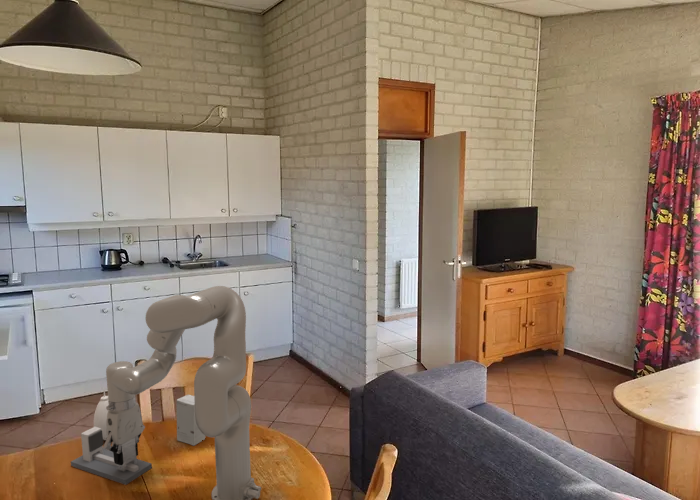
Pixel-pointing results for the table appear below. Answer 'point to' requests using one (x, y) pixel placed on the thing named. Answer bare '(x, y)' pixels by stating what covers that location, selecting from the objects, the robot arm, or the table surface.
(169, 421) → the table surface
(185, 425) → the skincare box
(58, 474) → the table surface
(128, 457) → the left finger
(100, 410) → the sauce bottle
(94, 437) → the rail base
